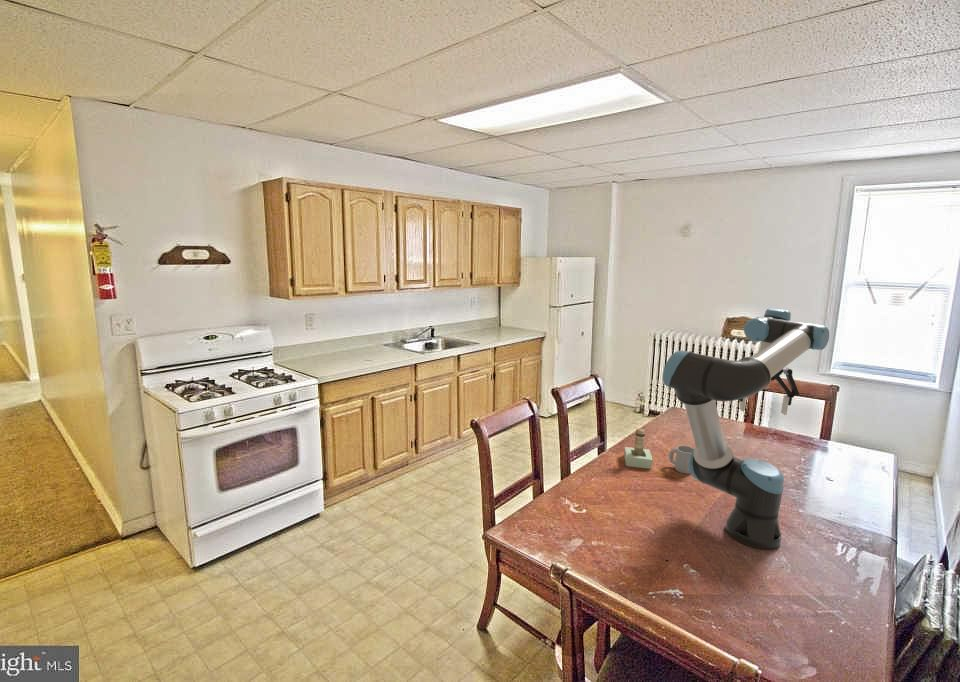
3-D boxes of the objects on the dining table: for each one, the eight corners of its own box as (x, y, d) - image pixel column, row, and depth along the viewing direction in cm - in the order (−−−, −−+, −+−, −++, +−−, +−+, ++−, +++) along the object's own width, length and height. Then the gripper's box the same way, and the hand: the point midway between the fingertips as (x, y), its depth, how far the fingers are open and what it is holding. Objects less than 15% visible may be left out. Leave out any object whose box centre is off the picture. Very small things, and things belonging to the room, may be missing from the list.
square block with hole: (651, 468, 192) (652, 459, 191) (626, 466, 194) (627, 456, 193) (648, 458, 202) (649, 449, 201) (624, 455, 204) (624, 446, 203)
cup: (691, 476, 187) (693, 455, 185) (665, 468, 193) (667, 447, 191) (695, 469, 193) (698, 449, 191) (670, 462, 199) (672, 442, 197)
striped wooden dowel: (642, 464, 196) (646, 432, 193) (633, 463, 197) (636, 431, 194) (641, 460, 199) (644, 429, 196) (632, 459, 200) (635, 428, 197)
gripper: (806, 353, 165) (796, 411, 170) (729, 348, 170) (721, 405, 175) (817, 358, 158) (806, 419, 163) (735, 353, 163) (727, 412, 167)
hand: (762, 411), depth 169 cm, fingers open, 13 cm apart
